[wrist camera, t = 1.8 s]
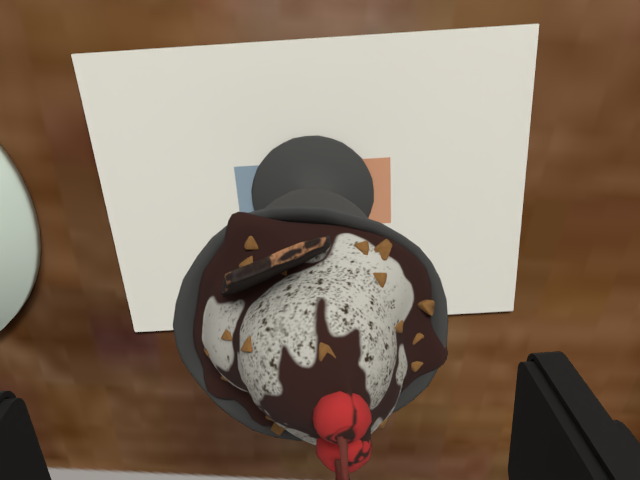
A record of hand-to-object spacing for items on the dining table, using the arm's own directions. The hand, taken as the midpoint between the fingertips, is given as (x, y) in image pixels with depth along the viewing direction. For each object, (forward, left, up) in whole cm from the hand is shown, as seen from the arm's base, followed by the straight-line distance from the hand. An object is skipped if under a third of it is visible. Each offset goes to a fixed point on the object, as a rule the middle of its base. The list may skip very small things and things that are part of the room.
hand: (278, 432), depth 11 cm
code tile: (-1, 0, -14) cm, 14 cm away
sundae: (-1, 0, -14) cm, 14 cm away
